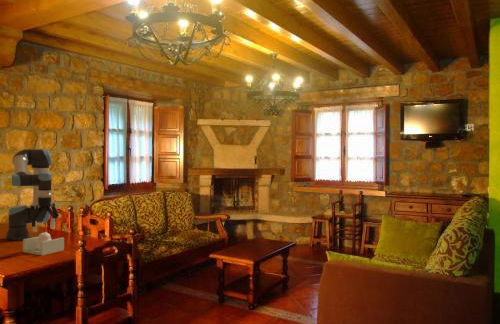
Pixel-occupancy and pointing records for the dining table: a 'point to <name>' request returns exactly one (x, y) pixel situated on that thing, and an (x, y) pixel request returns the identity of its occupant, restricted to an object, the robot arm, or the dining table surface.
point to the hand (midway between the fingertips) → (44, 229)
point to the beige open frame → (43, 246)
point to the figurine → (42, 240)
